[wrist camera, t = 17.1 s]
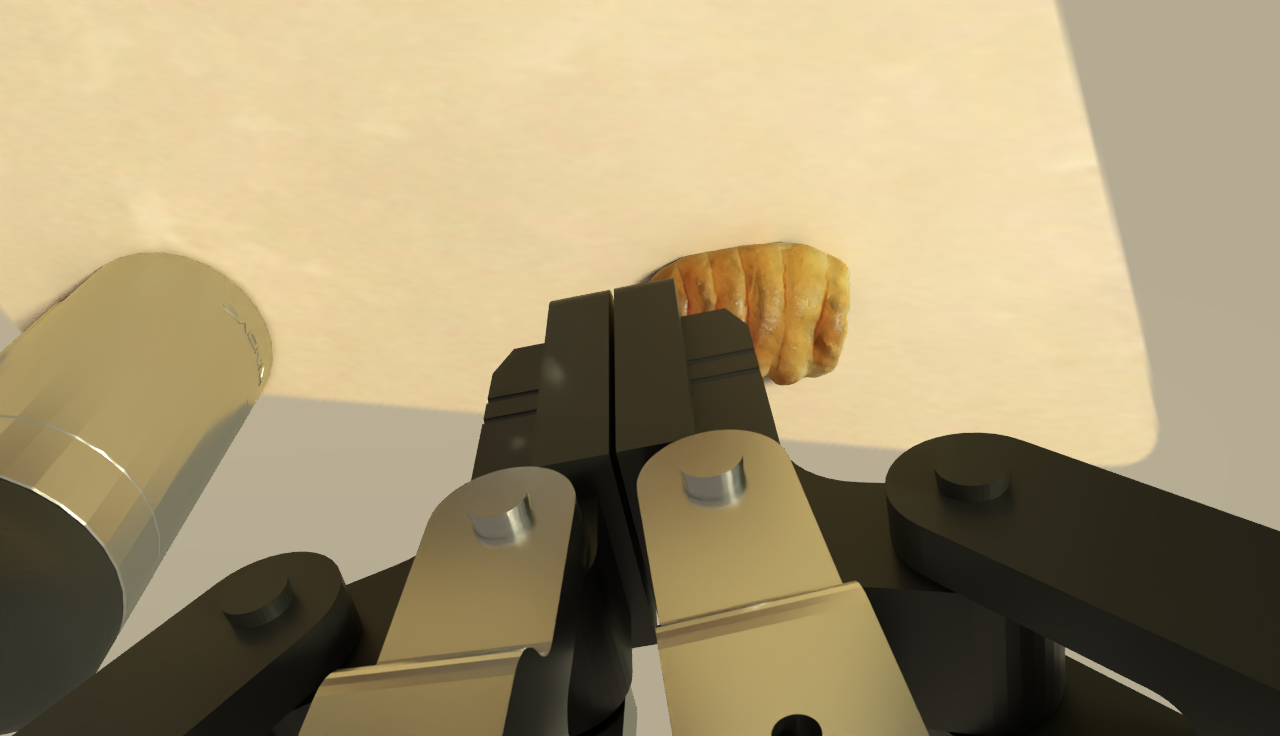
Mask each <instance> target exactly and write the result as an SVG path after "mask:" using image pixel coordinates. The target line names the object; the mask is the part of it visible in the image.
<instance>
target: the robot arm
mask: <svg viewBox="0 0 1280 736" xmlns="http://www.w3.org/2000/svg"><path fill="white" fill-rule="evenodd" d="M272 361H273V358H272V342H271V339H270V336H269V332H268V329H267V326H266V323H265V321H264V320H263V318H262V316H261V314H260V312H259V311H258V309H257V307H256V306H255V304H254V303H253V302H252V301H251V300H250V299H249V297H248V296H247V295H246V294H245V293H244V291H243V290H242V289H240V288H239V287H238V286H237V285H236V284H234V283H233V282H232V281H231V280H230V279H228V278H227V277H226V276H225V275H223V274H221V273H219V272H218V271H216V270H214V269H212V268H211V267H209V266H207V265H205V264H203V263H200V262H197V261H194V260H192V259H189V258H186V257H182V256H177V255H171V254H166V253H139V254H135V255H130V256H125V257H121V258H119V259H117V260H114V261H112V262H110V263H108V264H106V265H104V266H102V267H101V268H100V269H99V270H98V271H96V272H95V273H94V274H93V275H92V276H90V277H89V278H88V279H87V280H86V281H85V282H84V283H83V284H82V285H80V286H79V287H78V288H77V289H76V290H75V291H74V292H73V293H72V294H71V295H69V296H68V297H67V298H66V299H65V300H64V301H60V302H57V303H55V304H54V305H53V306H52V307H51V308H50V309H49V310H48V311H47V312H46V313H44V314H43V315H42V316H41V317H40V318H39V319H38V320H37V321H36V322H34V323H33V324H32V325H31V326H30V327H29V328H28V329H27V330H26V331H24V332H23V333H22V334H21V335H20V336H19V337H18V338H17V339H16V340H14V341H13V342H12V343H11V344H10V345H9V346H8V347H7V348H6V349H5V350H3V351H2V352H1V353H0V735H2V734H8V733H12V732H16V731H18V732H16V733H15V734H14V735H12V736H636V727H637V707H636V703H635V700H634V696H633V693H632V689H631V686H630V685H631V681H632V648H635V647H642V646H648V645H654V644H658V650H659V656H660V662H661V669H662V675H663V681H664V686H665V693H666V699H667V705H668V711H669V717H670V723H671V729H672V736H1280V531H1278V530H1275V529H1272V528H1269V527H1266V526H1263V525H1261V524H1258V523H1255V522H1252V521H1249V520H1246V519H1244V518H1241V517H1238V516H1235V515H1232V514H1229V513H1226V512H1224V511H1221V510H1218V509H1215V508H1212V507H1209V506H1206V505H1204V504H1201V503H1198V502H1195V501H1192V500H1190V499H1187V498H1184V497H1181V496H1178V495H1175V494H1173V493H1170V492H1167V491H1164V490H1161V489H1158V488H1156V487H1153V486H1150V485H1147V484H1144V483H1141V482H1139V481H1135V480H1133V479H1130V478H1127V477H1124V476H1121V475H1119V474H1116V473H1113V472H1110V471H1107V470H1105V469H1102V468H1099V467H1096V466H1093V465H1090V464H1088V463H1085V462H1082V461H1079V460H1076V459H1073V458H1071V457H1068V456H1065V455H1062V454H1059V453H1056V452H1054V451H1051V450H1048V449H1045V448H1042V447H1039V446H1037V445H1034V444H1031V443H1028V442H1025V441H1022V440H1019V439H1016V438H1012V437H1009V436H1003V435H998V434H990V433H960V434H951V435H946V436H941V437H937V438H934V439H931V440H927V441H924V442H922V443H920V444H918V445H916V446H914V447H912V448H910V449H909V450H907V451H906V452H904V453H903V454H902V455H901V456H899V457H898V458H897V459H896V460H895V461H894V463H893V464H892V465H891V467H890V469H889V471H888V473H887V476H886V481H885V483H862V482H861V483H860V482H846V481H839V480H834V479H828V478H825V477H822V476H818V475H815V474H813V473H811V472H808V471H806V470H804V469H803V468H801V467H799V466H798V465H796V464H795V463H794V462H793V461H791V460H790V458H789V456H788V454H787V452H786V451H785V449H784V448H783V447H782V446H781V445H780V442H779V438H778V434H777V431H776V427H775V423H774V420H773V416H772V412H771V408H770V405H769V401H768V397H767V394H766V390H765V386H764V382H763V379H762V375H761V372H760V368H759V364H758V360H757V356H756V353H755V350H754V345H753V342H752V338H751V334H750V330H749V327H748V324H746V323H745V322H744V321H742V320H741V319H739V318H738V317H737V316H735V315H734V314H732V313H731V312H730V311H728V310H727V309H725V308H723V309H718V310H713V311H707V312H702V313H697V314H692V315H687V316H682V313H681V308H680V303H679V298H678V293H677V289H676V284H675V280H674V277H672V278H667V279H662V280H657V281H652V282H646V283H641V284H636V285H631V286H626V287H621V288H616V289H614V299H613V296H612V293H611V291H610V290H607V291H602V292H596V293H591V294H586V295H581V296H576V297H571V298H566V299H561V300H556V301H551V302H550V304H549V311H548V319H547V328H546V336H545V343H543V344H538V345H533V346H527V347H522V348H517V349H514V350H513V351H512V352H511V353H510V355H509V356H508V357H507V358H506V359H505V360H504V361H503V363H502V364H501V365H500V366H499V367H498V368H497V370H496V371H495V372H494V373H493V375H492V380H491V385H490V390H489V395H488V402H489V403H487V405H486V410H485V415H484V424H483V425H482V429H481V434H480V439H479V444H478V449H477V454H476V459H475V464H474V469H473V474H472V478H471V481H470V482H468V483H466V484H464V485H463V486H461V487H459V488H458V489H456V490H455V491H454V492H452V493H451V494H450V495H448V496H447V497H446V498H445V499H444V500H443V501H442V502H441V503H440V504H439V505H438V506H437V507H436V509H435V510H434V512H433V513H432V515H431V517H430V519H429V521H428V523H427V526H426V529H425V532H424V535H423V537H422V540H421V543H420V545H419V548H418V551H417V554H416V556H414V557H413V558H411V559H409V560H407V561H404V562H402V563H400V564H398V565H395V566H393V567H390V568H388V569H385V570H383V571H380V572H378V573H376V574H373V575H370V576H368V577H365V578H363V579H360V580H358V581H355V582H353V583H350V584H348V585H346V584H345V582H344V580H343V577H342V575H341V573H340V571H339V568H338V566H337V565H336V564H335V563H334V562H333V561H332V560H331V559H330V558H328V557H326V556H324V555H321V554H318V553H312V552H291V553H284V554H279V555H275V556H271V557H268V558H265V559H262V560H259V561H256V562H254V563H252V564H249V565H247V566H245V567H243V568H241V569H239V570H237V571H236V572H234V573H232V574H230V575H229V576H227V577H226V578H225V579H223V580H221V581H220V582H218V583H217V584H216V585H214V586H213V587H211V588H210V589H209V590H207V591H206V592H205V593H204V594H202V595H201V596H199V597H198V598H197V599H195V600H194V601H193V602H191V603H190V604H189V605H187V606H186V607H185V608H183V609H182V610H181V611H179V612H178V613H176V614H175V615H174V616H172V617H171V618H170V619H168V620H167V621H166V622H164V623H163V624H162V625H160V626H159V627H158V628H156V629H155V630H154V631H152V632H151V633H150V634H148V635H147V636H146V637H144V638H143V639H142V640H140V641H139V642H137V643H136V644H135V645H134V646H132V647H131V648H129V649H128V650H127V651H125V652H124V653H123V654H121V655H120V656H119V657H117V658H116V659H115V660H113V661H112V662H111V663H109V664H108V665H107V666H105V667H104V668H102V669H101V670H100V671H99V672H97V670H98V669H99V667H100V665H101V664H102V662H103V660H104V658H105V657H106V655H107V653H108V652H109V650H110V648H111V647H112V645H113V643H114V642H115V640H116V638H117V636H118V634H119V633H120V631H121V629H122V628H123V626H124V624H125V623H126V621H127V619H128V618H129V616H130V614H131V613H132V611H133V609H134V608H135V606H136V604H137V602H138V601H139V599H140V597H141V596H142V594H143V592H144V591H145V589H146V587H147V586H148V584H149V582H150V580H151V579H152V577H153V575H154V573H155V571H156V570H157V568H158V566H159V565H160V563H161V561H162V560H163V558H164V556H165V555H166V552H167V551H168V549H169V548H170V546H171V544H172V543H173V541H174V539H175V538H176V536H177V534H178V532H179V531H180V529H181V528H182V526H183V524H184V522H185V521H186V519H187V517H188V516H189V514H190V512H191V511H192V509H193V507H194V506H195V504H196V502H197V501H198V499H199V497H200V495H201V494H202V492H203V490H204V489H205V487H206V485H207V484H208V482H209V480H210V478H211V477H212V475H213V473H214V472H215V470H216V469H217V466H218V465H219V463H220V462H221V460H222V458H223V457H224V455H225V453H226V452H227V450H228V448H229V447H230V445H231V443H232V441H233V440H234V438H235V436H236V435H237V433H238V432H239V430H240V428H241V427H242V425H243V423H244V422H245V420H246V418H247V416H248V415H249V413H250V411H251V410H252V408H253V406H254V405H255V403H256V401H257V399H258V398H259V396H260V394H261V393H262V391H263V389H264V387H265V385H266V383H267V381H268V379H269V376H270V371H271V366H272ZM656 610H657V614H658V618H659V623H660V625H657V616H656ZM1065 647H1066V648H1068V649H1070V650H1072V651H1074V652H1076V653H1078V654H1080V655H1082V656H1084V657H1086V658H1088V659H1090V660H1092V661H1094V662H1096V663H1098V664H1100V665H1102V666H1104V667H1106V668H1108V669H1110V670H1112V671H1114V672H1116V673H1118V674H1120V675H1122V676H1124V677H1126V678H1128V679H1130V680H1132V681H1134V682H1136V683H1138V684H1140V685H1142V686H1144V687H1146V688H1148V689H1150V690H1152V691H1153V692H1155V693H1157V694H1159V695H1160V696H1162V697H1163V698H1165V699H1166V700H1168V701H1169V702H1170V703H1171V704H1172V705H1174V706H1175V707H1176V708H1177V709H1178V710H1179V711H1180V712H1181V713H1182V714H1183V715H1182V714H1180V713H1178V712H1176V711H1174V710H1172V709H1170V708H1169V707H1166V706H1164V705H1162V704H1161V703H1159V702H1157V701H1155V700H1153V699H1151V698H1149V697H1147V696H1145V695H1143V694H1141V693H1139V692H1137V691H1135V690H1133V689H1131V688H1129V687H1127V686H1125V685H1123V684H1121V683H1119V682H1117V681H1115V680H1113V679H1111V678H1109V677H1107V676H1105V675H1103V674H1101V673H1099V672H1097V671H1095V670H1093V669H1092V668H1090V667H1088V666H1086V665H1084V664H1082V663H1080V662H1078V661H1076V660H1074V659H1072V658H1070V657H1068V656H1066V655H1065ZM96 672H97V673H96Z"/></svg>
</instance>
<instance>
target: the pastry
mask: <svg viewBox="0 0 1280 736" xmlns="http://www.w3.org/2000/svg"><path fill="white" fill-rule="evenodd" d="M672 277H674V280H675V284H676V289H677V293H678V298H679V303H680V308H681V313H682V316H687V315H692V314H697V313H702V312H707V311H713V310H718V309H723V308H725V309H727V310H728V311H730V312H731V313H732V314H734V315H735V316H737V317H738V318H739V319H741V320H742V321H744V322H745V323H746V324H748V327H749V330H750V334H751V338H752V342H753V345H754V350H755V353H756V356H757V360H758V364H759V368H760V372H761V375H762V378H763V377H764V376H767V377H769V378H770V379H771V380H772V381H774V382H775V383H776V384H778V385H790V384H794V383H796V382H797V381H799V380H801V379H802V378H804V377H813V378H815V377H819V376H822V375H825V374H827V373H829V372H832V371H833V370H834V368H835V367H836V365H837V364H838V360H839V357H840V354H841V351H842V348H843V344H844V341H845V338H846V335H847V329H848V327H847V314H848V312H849V297H850V273H849V270H848V267H847V266H846V264H844V263H843V262H842V261H841V260H839V259H837V258H835V257H833V256H831V255H829V254H826V253H823V252H821V251H819V250H817V249H815V248H813V247H810V246H808V245H803V244H795V243H782V242H775V243H768V244H754V245H748V246H738V247H733V248H727V249H722V250H716V251H710V252H705V253H699V254H695V255H689V256H685V257H682V258H680V259H678V260H677V261H675V262H673V263H671V264H669V265H667V266H665V267H663V268H662V269H660V270H659V271H658V272H657V273H656V274H655V275H654V276H653V278H652V279H651V280H650V282H652V281H657V280H662V279H667V278H672Z"/></svg>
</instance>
